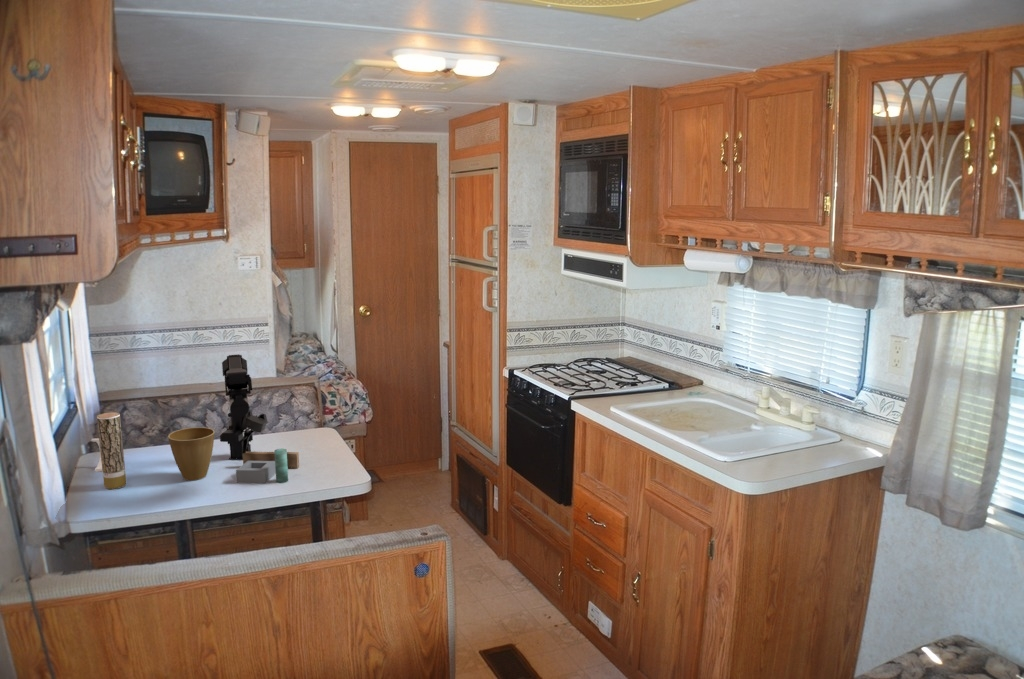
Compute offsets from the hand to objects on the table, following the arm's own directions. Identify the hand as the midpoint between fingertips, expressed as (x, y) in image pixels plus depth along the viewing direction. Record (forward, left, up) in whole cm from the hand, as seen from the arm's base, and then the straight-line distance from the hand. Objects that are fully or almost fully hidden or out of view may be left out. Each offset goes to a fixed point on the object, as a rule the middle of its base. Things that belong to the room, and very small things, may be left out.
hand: (242, 454), depth 258 cm
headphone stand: (-59, +17, -12) cm, 63 cm away
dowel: (+10, +8, -12) cm, 18 cm away
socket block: (0, +11, -12) cm, 16 cm away
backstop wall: (+1, +22, -12) cm, 25 cm away
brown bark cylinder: (-45, 0, -12) cm, 47 cm away
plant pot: (-22, +10, -12) cm, 27 cm away
